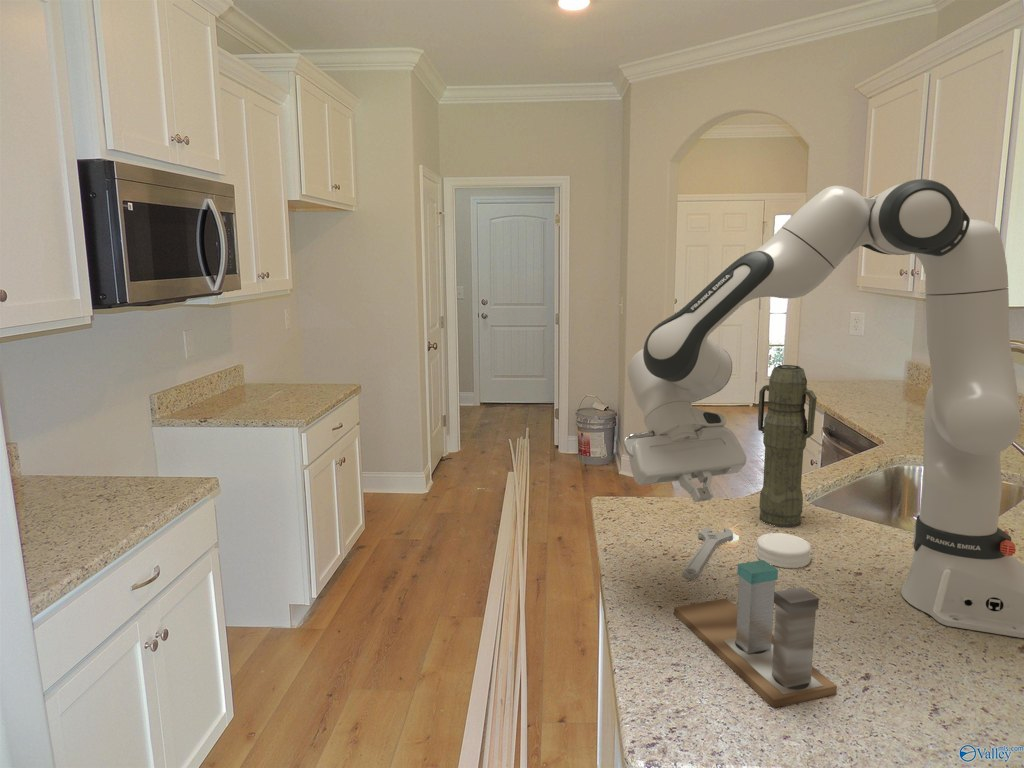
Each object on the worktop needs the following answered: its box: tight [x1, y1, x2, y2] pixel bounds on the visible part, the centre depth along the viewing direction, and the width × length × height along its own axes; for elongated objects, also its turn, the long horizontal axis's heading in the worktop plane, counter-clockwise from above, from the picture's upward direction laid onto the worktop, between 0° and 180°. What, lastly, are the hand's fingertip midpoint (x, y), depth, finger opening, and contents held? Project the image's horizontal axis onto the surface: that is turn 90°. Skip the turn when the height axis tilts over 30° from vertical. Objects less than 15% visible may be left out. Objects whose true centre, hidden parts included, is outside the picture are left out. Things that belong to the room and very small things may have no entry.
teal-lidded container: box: [736, 559, 779, 653], centre depth 103 cm, size 3×4×13 cm
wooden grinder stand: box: [673, 586, 838, 709], centre depth 104 cm, size 26×10×14 cm, turn 17°
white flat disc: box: [755, 532, 812, 569], centre depth 137 cm, size 10×10×4 cm
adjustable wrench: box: [682, 526, 734, 580], centre depth 140 cm, size 25×6×2 cm, turn 146°
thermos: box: [757, 364, 817, 528], centre depth 153 cm, size 9×12×35 cm
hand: (704, 499), depth 115 cm, fingers closed
